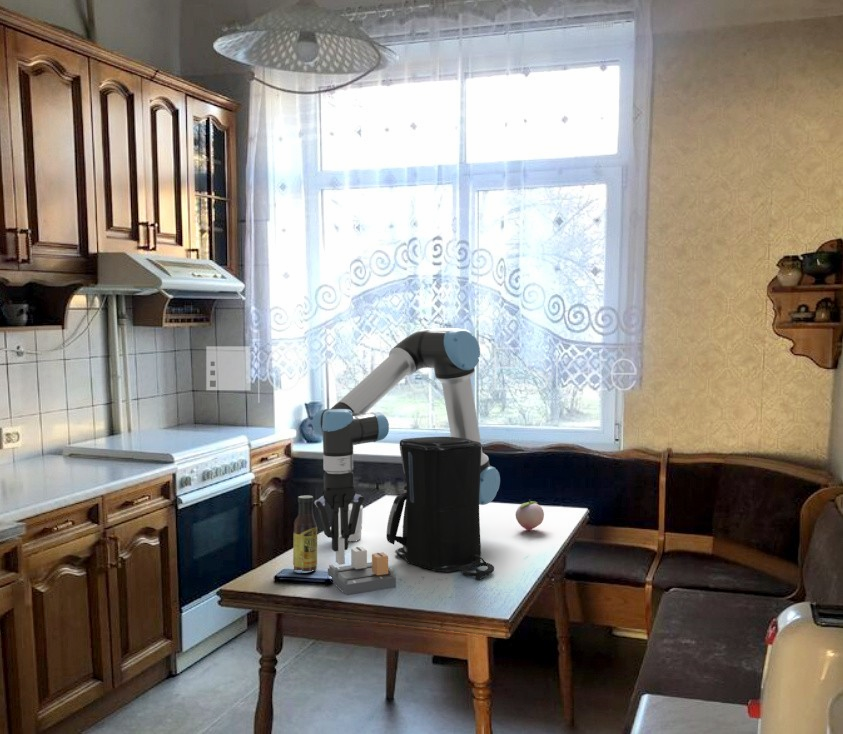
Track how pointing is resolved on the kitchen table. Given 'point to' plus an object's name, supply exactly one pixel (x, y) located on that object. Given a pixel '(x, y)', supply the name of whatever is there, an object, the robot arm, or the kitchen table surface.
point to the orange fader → (380, 563)
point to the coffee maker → (440, 505)
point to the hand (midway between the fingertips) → (340, 562)
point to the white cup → (358, 526)
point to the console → (360, 579)
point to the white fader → (359, 557)
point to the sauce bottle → (305, 536)
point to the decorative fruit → (529, 515)
